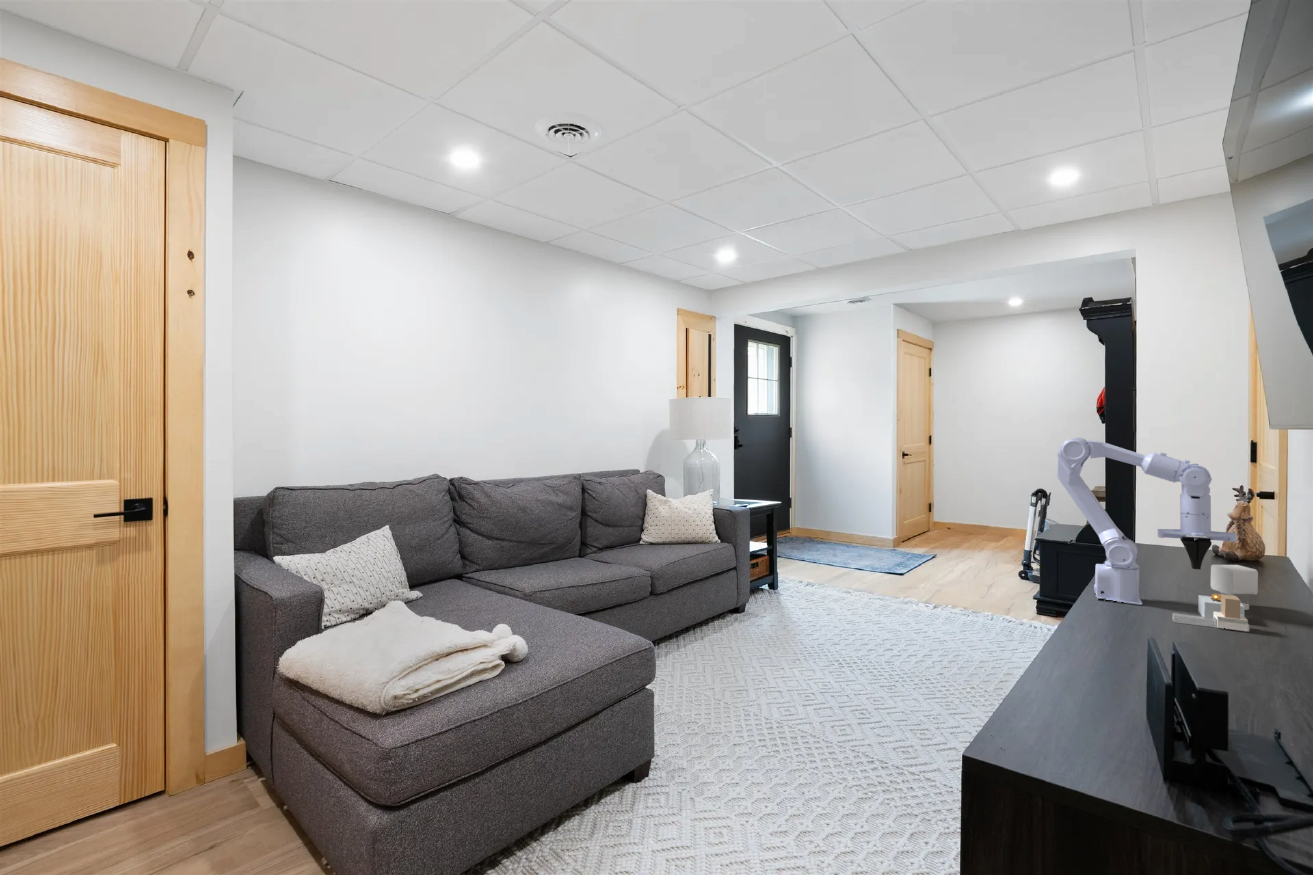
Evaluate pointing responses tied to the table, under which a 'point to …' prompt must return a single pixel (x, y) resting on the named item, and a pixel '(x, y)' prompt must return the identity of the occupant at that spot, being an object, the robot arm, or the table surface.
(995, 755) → the table surface
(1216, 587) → the security camera
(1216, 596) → the gold round knob
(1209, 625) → the rail
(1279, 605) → the table surface
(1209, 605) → the grey square-hole block
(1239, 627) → the carriage
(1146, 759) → the table surface
